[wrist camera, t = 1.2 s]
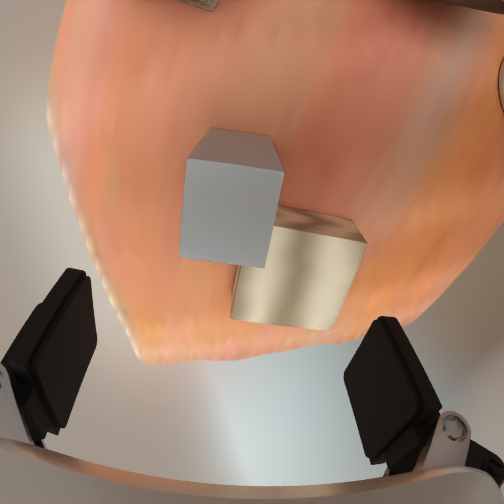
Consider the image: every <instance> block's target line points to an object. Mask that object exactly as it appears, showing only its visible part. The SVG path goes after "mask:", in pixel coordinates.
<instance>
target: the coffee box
mask: <svg viewBox="0 0 504 504" xmlns="http://www.w3.org/2000/svg"><path fill="white" fill-rule="evenodd" d="M178 1H181V2H184V3H188V4H191V5H194V6H197V7H200V8H203V9H206V10H209V11H214V9H215V7H216V6H217V4H218V2H219V1H220V0H178Z"/></svg>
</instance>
